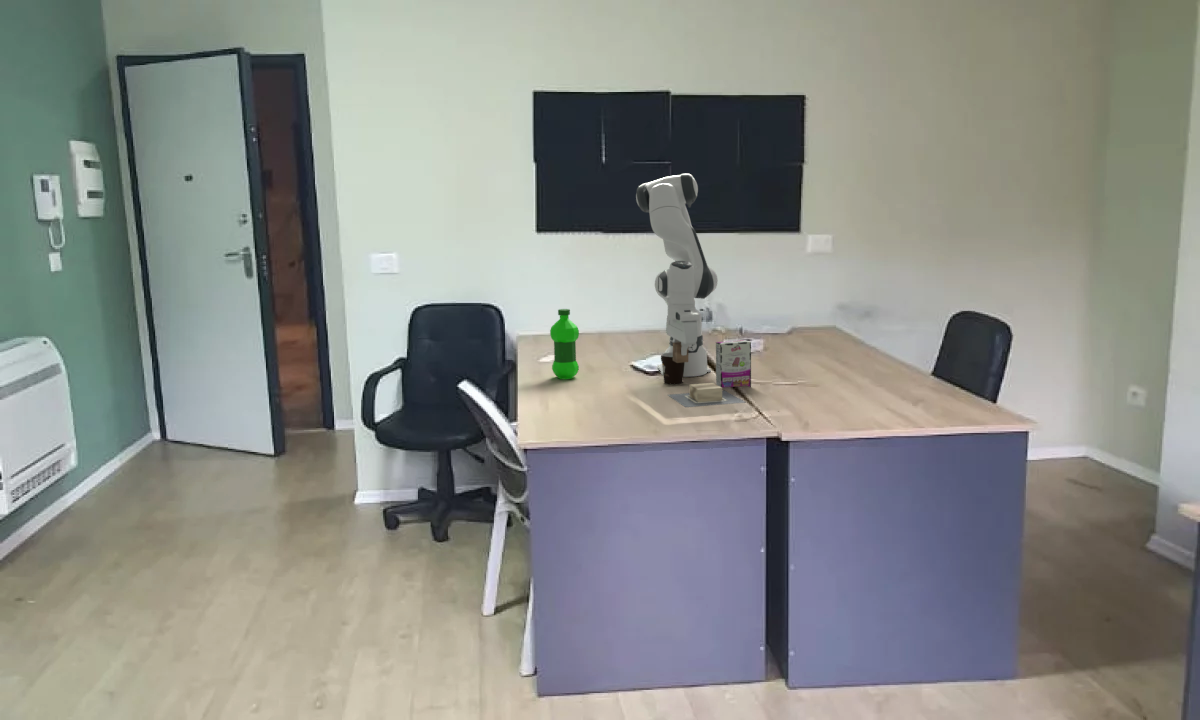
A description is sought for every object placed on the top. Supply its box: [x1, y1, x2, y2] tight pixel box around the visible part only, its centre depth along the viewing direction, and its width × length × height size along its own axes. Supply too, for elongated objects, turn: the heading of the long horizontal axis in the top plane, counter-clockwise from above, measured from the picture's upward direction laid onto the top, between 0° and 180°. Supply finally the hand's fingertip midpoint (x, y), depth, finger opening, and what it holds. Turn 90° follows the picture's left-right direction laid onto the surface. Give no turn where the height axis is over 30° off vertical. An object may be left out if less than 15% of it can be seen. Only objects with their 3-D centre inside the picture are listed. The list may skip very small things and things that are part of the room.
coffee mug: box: [660, 352, 685, 385], centre depth 330 cm, size 12×9×10 cm
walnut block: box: [673, 342, 689, 363], centre depth 307 cm, size 4×4×6 cm
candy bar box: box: [715, 339, 752, 388], centre depth 316 cm, size 11×5×16 cm, turn 105°
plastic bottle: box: [549, 308, 580, 380], centre depth 338 cm, size 10×10×25 cm
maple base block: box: [689, 382, 723, 402], centre depth 298 cm, size 8×8×4 cm
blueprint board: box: [667, 389, 747, 408], centre depth 298 cm, size 18×20×2 cm
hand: (680, 353), depth 307 cm, fingers closed on walnut block, 4 cm apart
